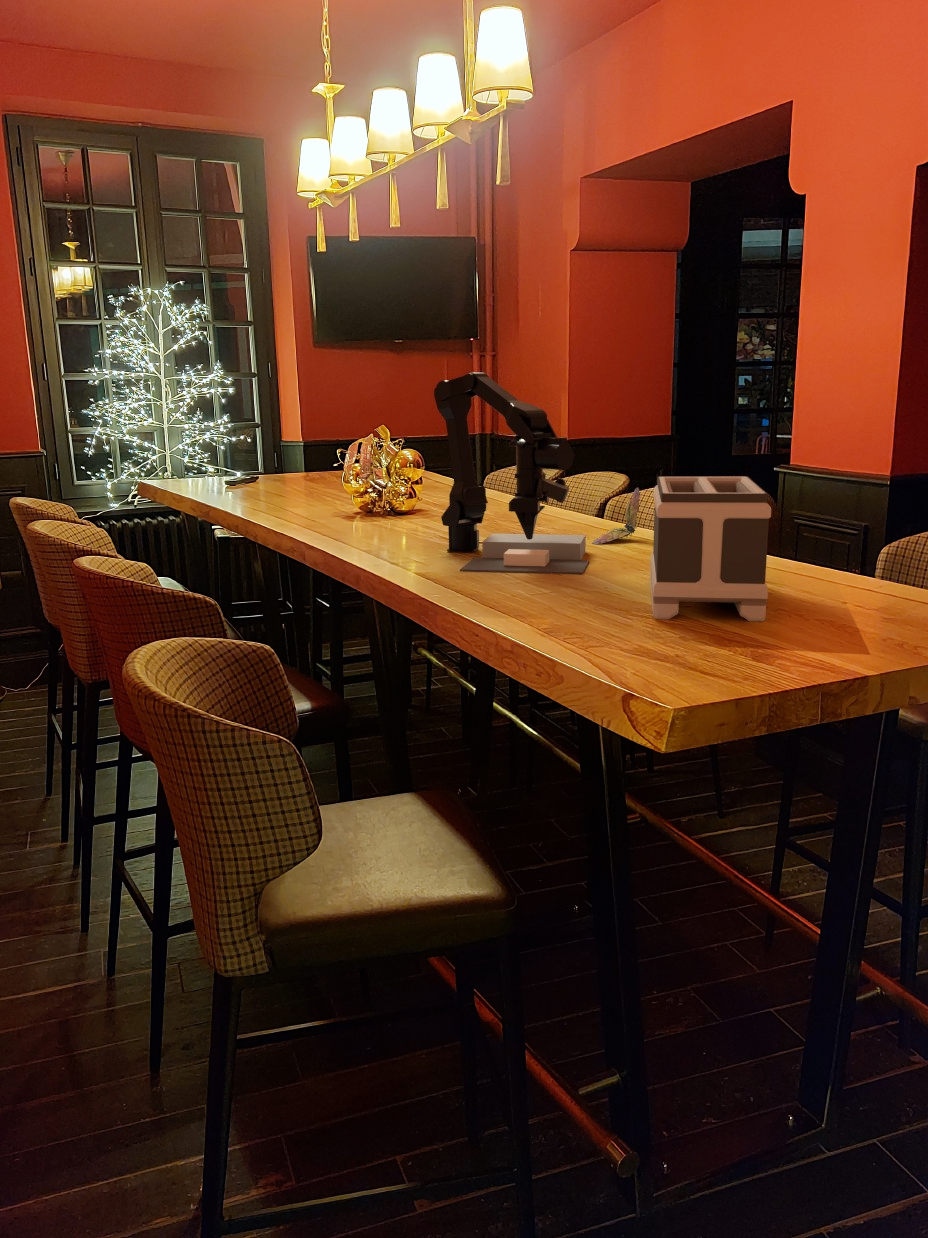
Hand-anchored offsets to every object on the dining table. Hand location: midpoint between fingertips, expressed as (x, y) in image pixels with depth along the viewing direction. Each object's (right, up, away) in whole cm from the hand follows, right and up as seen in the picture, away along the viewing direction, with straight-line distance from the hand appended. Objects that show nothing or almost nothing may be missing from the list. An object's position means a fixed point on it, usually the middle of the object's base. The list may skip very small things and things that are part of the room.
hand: (529, 539), depth 211 cm
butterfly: (+23, +1, +26) cm, 35 cm away
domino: (-1, -3, -4) cm, 5 cm away
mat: (-1, -6, -4) cm, 8 cm away
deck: (+2, -3, +8) cm, 9 cm away
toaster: (+29, -14, -37) cm, 49 cm away
